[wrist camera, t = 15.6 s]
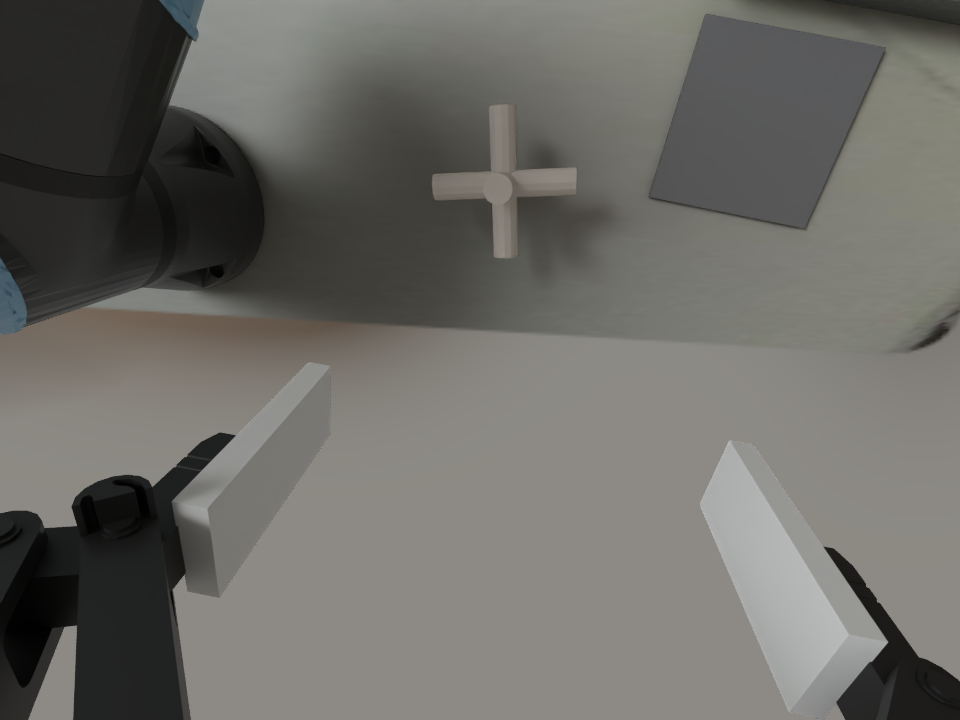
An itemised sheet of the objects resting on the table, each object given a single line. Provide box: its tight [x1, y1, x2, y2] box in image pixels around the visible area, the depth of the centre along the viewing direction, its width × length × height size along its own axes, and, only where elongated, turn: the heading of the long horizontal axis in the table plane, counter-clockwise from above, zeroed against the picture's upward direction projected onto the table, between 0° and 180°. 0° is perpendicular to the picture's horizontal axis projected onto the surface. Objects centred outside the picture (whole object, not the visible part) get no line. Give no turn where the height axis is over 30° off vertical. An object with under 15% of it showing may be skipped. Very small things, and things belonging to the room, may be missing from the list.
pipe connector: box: [432, 104, 577, 258], centre depth 34 cm, size 10×10×10 cm
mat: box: [649, 14, 886, 229], centre depth 35 cm, size 12×12×1 cm
